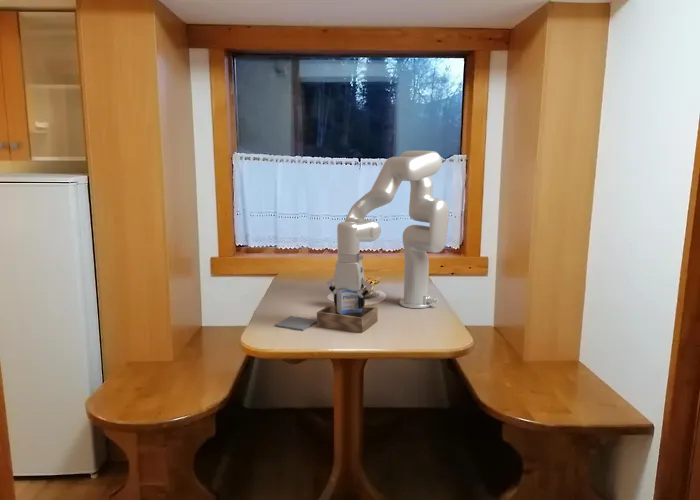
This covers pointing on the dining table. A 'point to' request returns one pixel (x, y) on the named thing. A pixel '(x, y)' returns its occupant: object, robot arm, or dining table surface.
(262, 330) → the dining table surface
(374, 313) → the walnut crate
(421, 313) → the dining table surface
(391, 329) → the dining table surface
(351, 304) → the medicine box
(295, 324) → the grey mat
